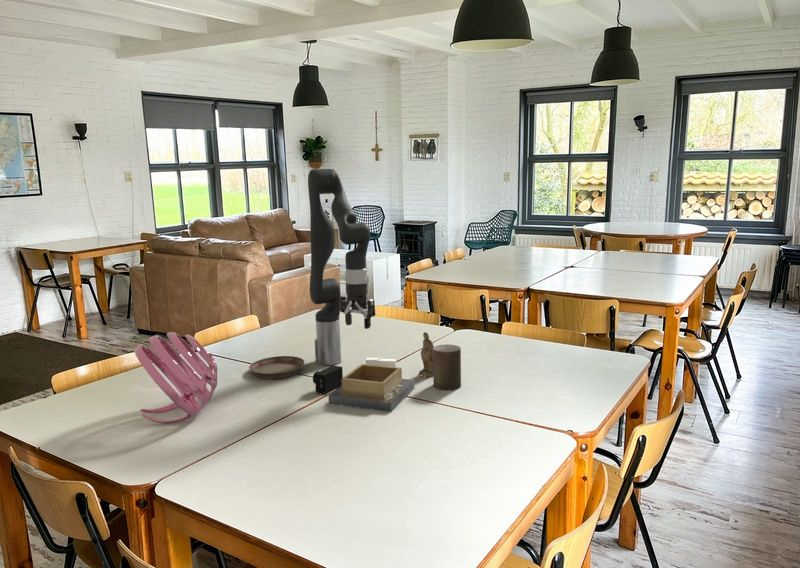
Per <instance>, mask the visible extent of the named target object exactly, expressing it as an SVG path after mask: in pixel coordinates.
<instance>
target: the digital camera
mask: <svg viewBox="0 0 800 568" xmlns="http://www.w3.org/2000/svg"><path fill="white" fill-rule="evenodd" d="M343 375H344V374H343V366H339V365H335V364H334V365H329V367H326V368H324V369H321V370H320V371H319V370H317V371H315V372H314V373H313V375H312V382H313V383H314V384H315V393H316V392H317V394H320V393H321V395H327V394H328V395H329V393H330V394H331V393H332V392H334V391H335V390H336V389H337V388H339V387H340V386H341V385H342V380H341V379H342V378H343V377H344V376H343Z"/></svg>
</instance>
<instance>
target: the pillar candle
mask: <svg viewBox="0 0 800 568" xmlns="http://www.w3.org/2000/svg"><path fill="white" fill-rule="evenodd" d="M461 350H462V348H461V346H459V345H456V344H448V343H447V344H439V345H436V346H434V347H433V376H432V377H433V378H432V379H433V381H432V382H433V387H434V388H436V389H438V390H441V391H442V390H443V391H453V390H458V389H460V388H461V387H462V356H461V354H462V352H461Z"/></svg>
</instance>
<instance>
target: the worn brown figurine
mask: <svg viewBox="0 0 800 568" xmlns="http://www.w3.org/2000/svg"><path fill="white" fill-rule="evenodd" d="M433 343H434V342H433V341H432V340H431V339H430V337H429V334H428V333H427V332H426V331H424V332H423V340H422V348H421V351H420V356H421V360H422V363H423V368H422V369H421V370H419V372H418V376H420V375H422V376H421V377H424V376H425V377H424V378H431V377H433V347H435V346H434V344H433Z"/></svg>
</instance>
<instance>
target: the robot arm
mask: <svg viewBox="0 0 800 568" xmlns="http://www.w3.org/2000/svg"><path fill="white" fill-rule="evenodd" d="M307 187H308V200H309V215H310V220H309V221H310V223H309V224H310V231H309V233H310V234H309V236H310V238H309V239H310V240H309V241H310V278H309V297H310V299H311V301H312V303H313V304H314V305H324V304H325V305H324V307H322V308H321V309H320V310H318V311H317V312H316V313H315V336H316V338H315V339H314V353H315V354H314V355H315V363H316V364H319V365H323V366H332V365H334V366H335V365H338V364H340V363H341V362H342V348H341V347H342V346H341V328H340V326H341V325H340V314H341V313H342V314H343V315H345V316H344V317H345V319H344V321H345V324H346V326H351V325H352V324H353V320H352V312H353V310H354V311H359V312H360V314H362V316H363V317H364V319H363V324H364V325H363V326H364V327H363V328H364V329H366V330H368V329H370V328H371V327H372V324H371V323H372V321H371V319H372V318H373V317H376V305H375V302H376V301H375V299H373V298H372V299H368V297H367V296H368V291H369V289H368V288H369V287H368V271H367V253H368V247H369V243H370V239H371V229H370V226H369V225H368V224H367V223H365V222H357V221H358V219H357V215H356V213H355V211H354V210H353V208H352V207H351V205H350V202H349V200H348V198H347V196H346V192H345V189H344V186H343V183H342V181H341V177H340V176H339V173H338V172H337V170H335V169H333V168H313V169H310V170H309V173H308V175H307ZM327 194H328V195H329V194H330V195H331V194H332V195H333V196H334V197H333V199H332V203H331V207H330V209H331V214H332V217H333V218H334V220H335V222H336V224H337V227H338V235H339V236H338V237H339V240H340V241H341V243H342V244H345V245H346V246H347V245H356V247H355V248H353V250H349V251H347V252H346V253H345V273H344V274H345V275H344V276H345V294H344V295H341V287H340V283H339V281H338V280H337V279H336V278H326V279H324V272H325V267H326V265H327V264H328V261H329V259H330V257H331V256H332V255H333V252H334V250H335V247H336V230H335V226H334V224H333V223H332V221H331V220H330V217H328V215H327V213H326V212H325V209H324V208H323V206H322V201H321V196H320V195H327Z"/></svg>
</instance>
